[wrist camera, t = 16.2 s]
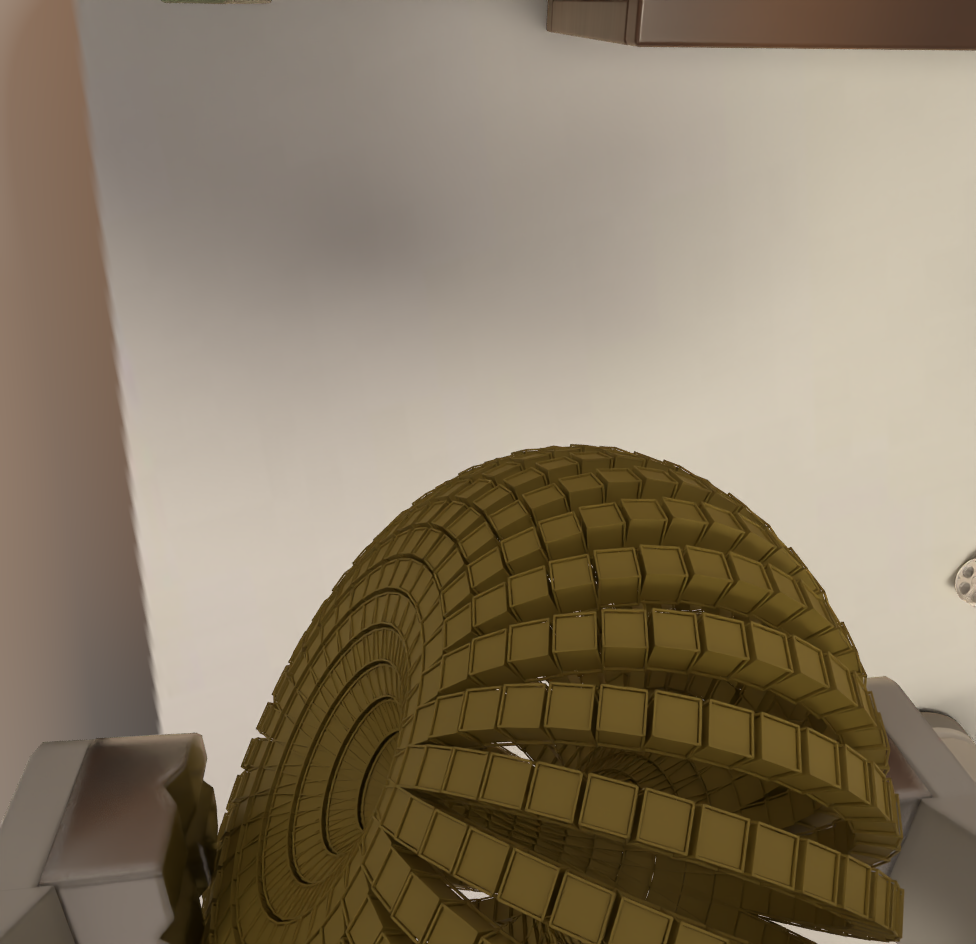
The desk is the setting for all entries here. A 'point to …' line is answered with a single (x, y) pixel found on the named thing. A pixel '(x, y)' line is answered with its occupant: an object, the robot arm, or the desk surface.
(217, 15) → the desk surface
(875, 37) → the cabinet
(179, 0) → the drawer
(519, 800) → the sculpture
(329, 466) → the desk surface
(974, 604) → the white rod
